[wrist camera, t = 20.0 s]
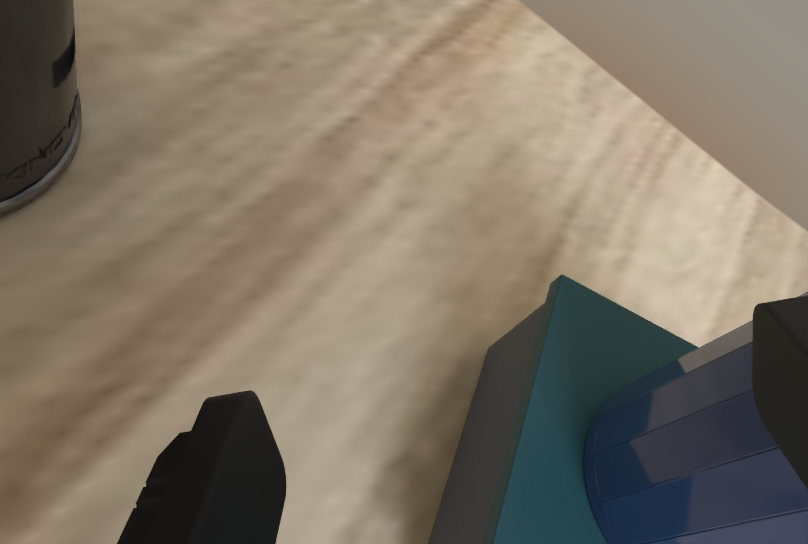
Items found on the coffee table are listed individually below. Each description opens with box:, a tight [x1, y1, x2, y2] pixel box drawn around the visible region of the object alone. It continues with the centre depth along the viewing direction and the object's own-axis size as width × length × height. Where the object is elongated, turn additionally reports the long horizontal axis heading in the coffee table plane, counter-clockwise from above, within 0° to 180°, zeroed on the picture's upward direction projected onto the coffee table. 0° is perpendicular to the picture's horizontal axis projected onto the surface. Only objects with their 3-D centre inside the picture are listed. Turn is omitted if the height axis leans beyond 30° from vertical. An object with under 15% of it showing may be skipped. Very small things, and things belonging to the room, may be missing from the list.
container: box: [428, 275, 698, 544], centre depth 24 cm, size 11×11×6 cm
